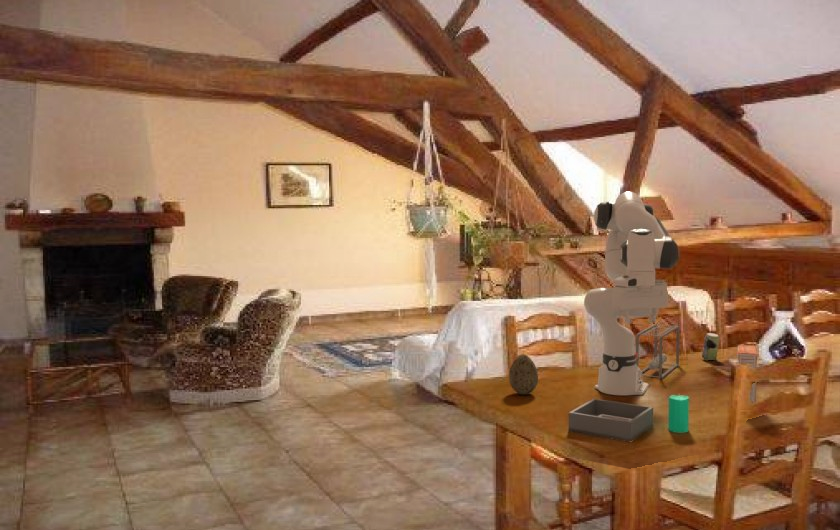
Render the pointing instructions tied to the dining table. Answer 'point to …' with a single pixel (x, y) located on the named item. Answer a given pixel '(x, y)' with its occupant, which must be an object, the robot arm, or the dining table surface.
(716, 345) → the beverage can
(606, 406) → the walled box
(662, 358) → the newton's cradle
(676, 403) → the candle
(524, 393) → the decorative egg
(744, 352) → the cracker box
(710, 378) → the dining table surface
